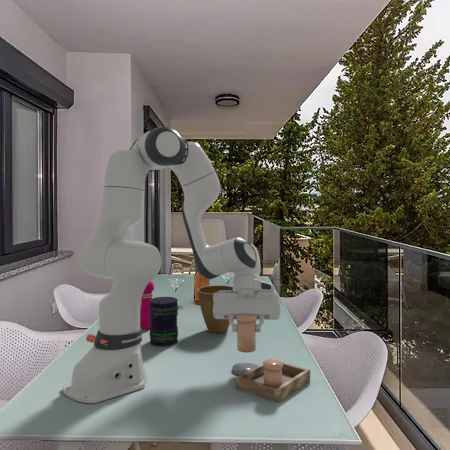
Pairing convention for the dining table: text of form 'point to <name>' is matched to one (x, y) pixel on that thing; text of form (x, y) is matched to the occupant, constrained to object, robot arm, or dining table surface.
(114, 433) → the dining table surface
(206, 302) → the plant pot
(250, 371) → the wooden tray
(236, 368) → the grey disc
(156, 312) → the storage jar
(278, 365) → the small pot
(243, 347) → the tall pot
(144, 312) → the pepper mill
